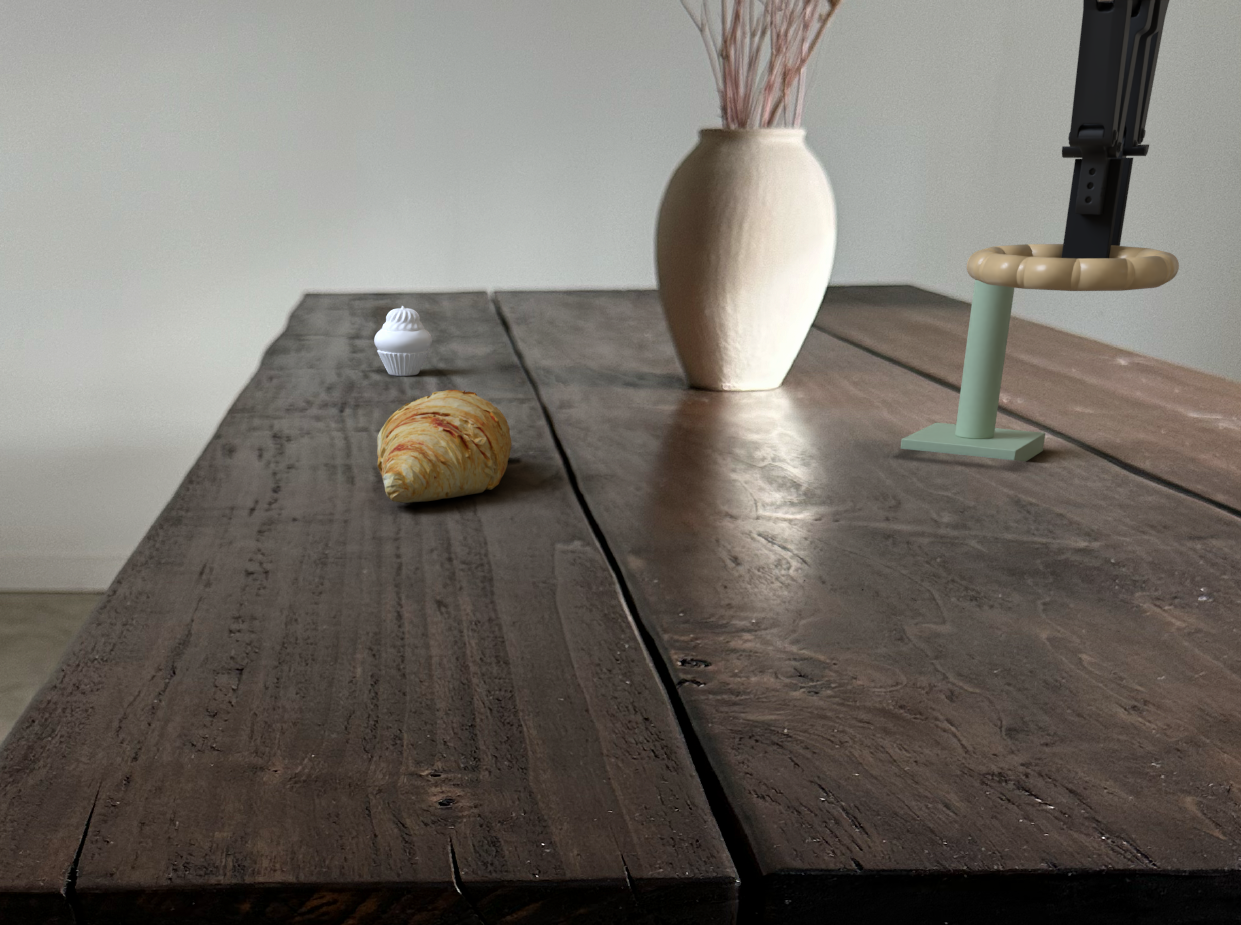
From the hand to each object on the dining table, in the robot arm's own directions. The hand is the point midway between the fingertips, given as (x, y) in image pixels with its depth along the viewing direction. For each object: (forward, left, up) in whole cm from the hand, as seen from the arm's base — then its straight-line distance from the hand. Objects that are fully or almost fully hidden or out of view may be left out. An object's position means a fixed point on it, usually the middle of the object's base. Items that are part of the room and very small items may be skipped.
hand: (1088, 267), depth 102 cm
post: (+11, -21, -16) cm, 29 cm away
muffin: (+75, -33, -16) cm, 84 cm away
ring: (0, +5, 0) cm, 5 cm away
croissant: (+41, +12, -16) cm, 46 cm away
